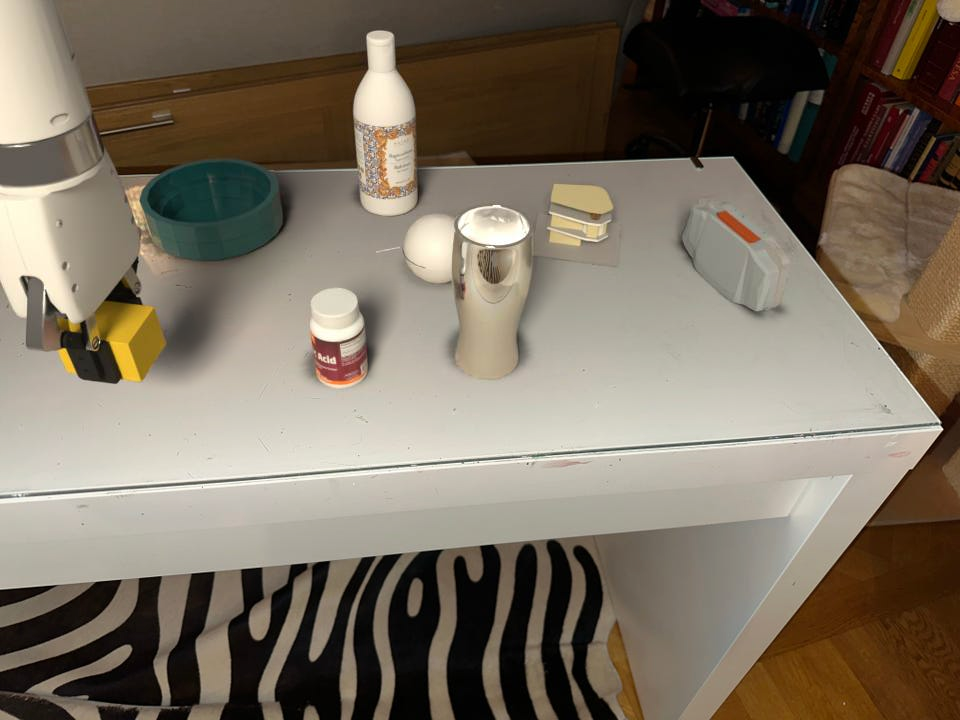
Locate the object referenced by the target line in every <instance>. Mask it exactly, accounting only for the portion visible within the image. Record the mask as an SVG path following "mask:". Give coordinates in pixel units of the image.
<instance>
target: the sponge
mask: <svg viewBox="0 0 960 720" xmlns="http://www.w3.org/2000/svg"><path fill="white" fill-rule="evenodd" d="M95 314H96V319H97V324H98V329H99V334H100V339H101V340H105V341H108V343H109V346H110V349H111V351H112V354H113V356H114V359H115V362H116V364H117V367H118V369H119V372H120V374H121V379H120V381H121V380H122V381H130V382H137V383H142V382H143V381H144V380H145V378H146V376H147V374H148V373H149V371H150V370H151V369H152V367H153V365H154V363H156V360H157V359H158V358H159V356H160V354H161V353H162V351H163V350H164V349H165V346H166V345H167V341H166V339H165V336H164V333H163V330H162V327H161V323H160V321H159V318H158V314H157V311H156V308H155V306H153V305H144V304H143V305H137V304H128V303H119V302H111V301H103V302H102V303H101V305H100V306H99V307H98V308H97V309H96V311H95ZM68 322H69V327H70V331H71V332H79V333H82V331H81V327H80V323H79V324H72V323H71V322H70V320H68ZM56 352H57V353H58V356H59V357H60V359H61V361H62V364H63V366H64V368H65V370H66V373H68V374H75V375H77V373H76V371H75V368H74V366H73V364H72V362H71V359H70V357H69V355H68V352H67V350H66V348H64V349H61V350H56Z"/></svg>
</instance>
